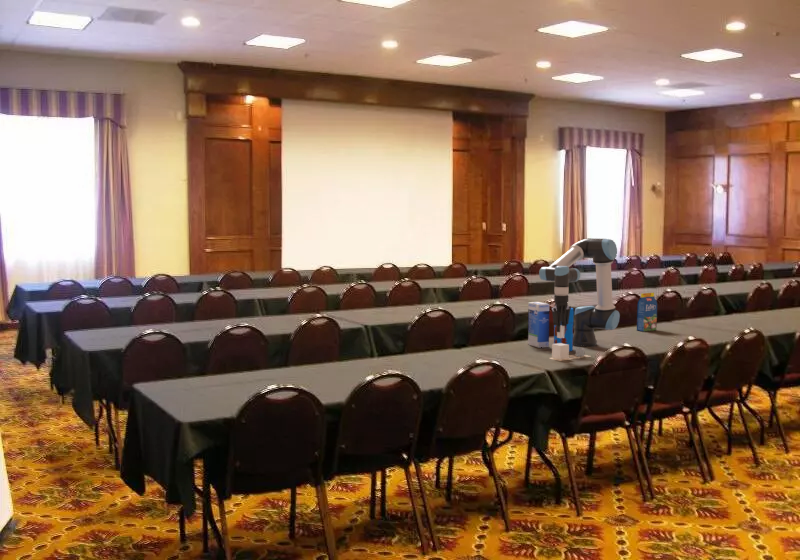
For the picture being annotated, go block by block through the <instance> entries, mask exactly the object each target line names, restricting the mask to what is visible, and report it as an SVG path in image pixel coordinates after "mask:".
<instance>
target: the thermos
mask: <svg viewBox="0 0 800 560" xmlns="http://www.w3.org/2000/svg"><path fill="white" fill-rule="evenodd" d="M574 314H575V310H574V308H573V307H571V310H570V315H569V322H568V324H566V325H567V326H565V331H564V338H557V331H556V330H557V326H555V325H554V324H553V329H554V330H553V344H557V343H563V344H568V345H569V352H572V351H573V349H574V345H573V334H574V316H575V315H574ZM563 323H564V322H563Z"/></svg>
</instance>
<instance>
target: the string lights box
mask: <svg viewBox="0 0 800 560" xmlns="http://www.w3.org/2000/svg"><path fill="white" fill-rule="evenodd" d="M527 304H528V306H527V311H528V313H527V314H528V316H527V319H528V322H527V323H528V324H527V325H528V328H527V331H528V333H527V339H528V340H527V343H528V345H529V346H531V347H535V348H537V349H538V348H541V347H542V348H550V303H546V302H541V301H531V302H530V301H529V302H527ZM542 348H541V349H542Z"/></svg>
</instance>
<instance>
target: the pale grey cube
mask: <svg viewBox="0 0 800 560" xmlns="http://www.w3.org/2000/svg"><path fill="white" fill-rule="evenodd" d="M575 354H576V356H579V357H582V356H584V355H585V348H580V347H579V348H576V349H575Z"/></svg>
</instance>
